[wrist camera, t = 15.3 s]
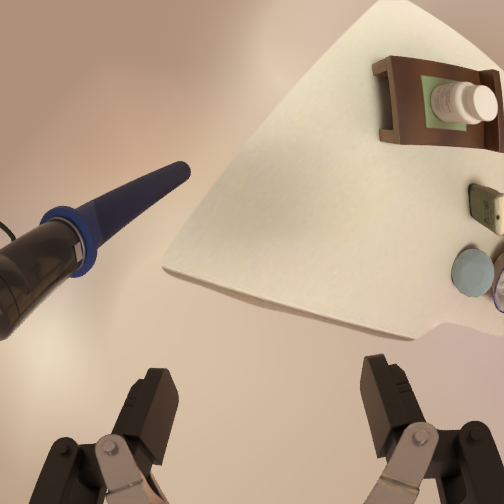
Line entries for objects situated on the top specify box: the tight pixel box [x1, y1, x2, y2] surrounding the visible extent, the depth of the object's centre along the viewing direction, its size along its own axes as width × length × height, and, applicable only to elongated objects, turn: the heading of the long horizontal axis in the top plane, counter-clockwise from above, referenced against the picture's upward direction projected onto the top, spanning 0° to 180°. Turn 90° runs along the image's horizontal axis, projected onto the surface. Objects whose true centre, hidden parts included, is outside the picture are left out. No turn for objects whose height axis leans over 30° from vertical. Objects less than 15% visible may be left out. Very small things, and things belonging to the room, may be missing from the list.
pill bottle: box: [431, 82, 498, 124], centre depth 21 cm, size 4×4×8 cm
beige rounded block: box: [468, 184, 504, 236], centre depth 31 cm, size 6×5×8 cm
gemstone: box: [452, 249, 494, 297], centre depth 37 cm, size 8×8×5 cm
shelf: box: [372, 56, 504, 153], centre depth 26 cm, size 14×10×9 cm
